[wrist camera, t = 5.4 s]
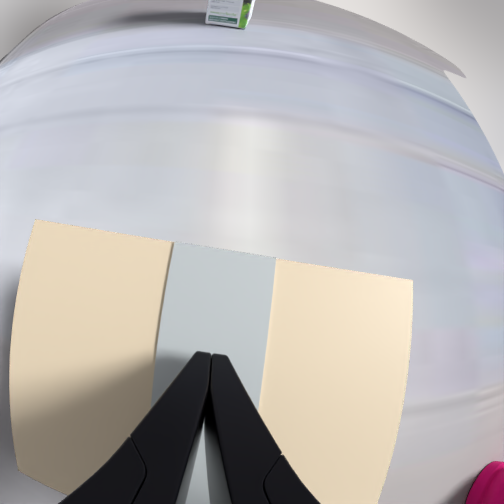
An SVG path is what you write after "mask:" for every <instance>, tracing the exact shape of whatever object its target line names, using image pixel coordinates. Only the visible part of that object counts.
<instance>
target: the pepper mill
mask: <svg viewBox="0 0 504 504" xmlns="http://www.w3.org/2000/svg"><path fill="white" fill-rule="evenodd" d="M466 504H504V462H499V461H494V462H491V463H490V464H488V465H487V466H486V467H485V468H484V469H483V470H482V472H481V473H480V474H479V476H478V477H477V479H476V480H475V482H474V484H473V485H472V487H471V489H470V492H469V494H468V497H467V500H466Z"/></svg>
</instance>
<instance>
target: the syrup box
mask: <svg viewBox="0 0 504 504" xmlns="http://www.w3.org/2000/svg"><path fill="white" fill-rule="evenodd" d="M254 2H255V0H208V7H207V13H206V20H205V23H206V24H216V25H223V26H230V27H237V28H241V29H245V28H246V26H247V24H248V22H249V20H250V18H251V16H252V11H253V6H254Z"/></svg>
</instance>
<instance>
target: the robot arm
mask: <svg viewBox="0 0 504 504" xmlns="http://www.w3.org/2000/svg"><path fill="white" fill-rule="evenodd" d="M203 424H204V440H205V454H206V467H207V479H208V490H209V500H210V504H321V503H320V502H319V501H318V500H317V499H316V498H315V497H314V496H313V494H312V493H311V492H310V491H309V490H308V488H307V487H306V486H305V485H304V484H303V482H302V481H301V480H300V478H299V477H298V475H297V474H296V473H295V471H294V470H293V468H292V467H291V465H290V464H289V462H288V461H287V459H286V457H285V456H284V455H283V454H282V451H281V450H280V448H279V446H278V445H277V443H276V441H275V440H274V438H273V436H272V435H271V433H270V431H269V430H268V428H267V426H266V425H265V423H264V421H263V419H262V418H261V416H260V414H259V412H258V411H257V409H256V407H255V405H254V404H253V402H252V400H251V398H250V396H249V395H248V393H247V391H246V389H245V387H244V386H243V384H242V382H241V380H240V378H239V376H238V374H237V372H236V371H235V369H234V367H233V365H232V363H231V361H230V359H229V357H228V356H227V355H224V354H217V353H213V354H212V356H211V353H209V352H203V351H196V352H195V353H194V354H193V356H192V357H191V358H190V359H189V361H188V362H187V363H186V365H185V366H184V367H183V368H182V370H181V371H180V372H179V374H178V375H177V376H176V377H175V379H174V380H173V381H172V382H171V384H170V385H169V386H168V387H167V389H166V390H165V391H164V393H163V394H162V395H161V396H160V398H159V399H158V400H157V401H156V403H155V404H154V405H153V406H152V408H151V409H150V410H149V411H148V413H147V414H146V415H145V416H144V418H143V419H142V420H141V421H140V423H139V424H138V425H137V426H136V428H135V429H134V430H133V431H132V433H131V434H130V437H127V439H126V440H125V441H124V442H123V443H122V445H121V446H120V447H119V448H118V449H117V451H116V452H115V453H114V454H113V455H112V456H111V457H110V458H109V460H108V461H107V462H106V463H105V464H104V465H102V466H101V467H100V468H99V469H98V470H97V471H96V472H95V473H94V474H93V475H92V476H91V477H90V478H88V479H87V480H86V481H85V482H84V483H83V484H81V485H80V486H79V487H78V488H77V489H75V490H74V491H73V492H72V493H71V494H69V495H68V496H67V497H66V498H65V499H63V500H62V501H61V502H60V503H58V504H185V503H186V499H187V495H188V490H189V486H190V482H191V477H192V473H193V469H194V464H195V460H196V456H197V451H198V447H199V443H200V439H201V434H202V429H203ZM281 454H282V455H281Z"/></svg>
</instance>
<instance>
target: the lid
mask: <svg viewBox="0 0 504 504" xmlns="http://www.w3.org/2000/svg"><path fill="white" fill-rule="evenodd" d="M412 313H413V280H408V279H402V278H395V277H389V276H383V275H376V274H370V273H364V272H357V271H351V270H345V269H338V268H332V267H326V266H319V265H313V264H307V263H301V262H294V261H288V260H282V259H276V258H275V257H269V256H263V255H256V254H250V253H244V252H238V251H232V250H225V249H219V248H213V247H207V246H201V245H194V244H188V243H182V242H176V241H175V242H170V241H164V240H158V239H152V238H146V237H140V236H134V235H127V234H121V233H115V232H109V231H103V230H97V229H91V228H85V227H79V226H73V225H67V224H61V223H55V222H49V221H43V220H37V219H35V222H34V225H33V229H32V232H31V235H30V239H29V243H28V246H27V250H26V254H25V258H24V262H23V266H22V271H21V275H20V280H19V285H18V291H17V297H16V303H15V309H14V317H13V325H12V335H11V347H10V368H9V393H10V414H11V426H12V435H13V443H14V450H15V456H16V461H17V467H18V471H20V472H22V473H23V474H25V475H27V476H29V477H31V478H32V479H34V480H36V481H38V482H40V483H42V484H44V485H46V486H48V487H50V488H52V489H55V490H57V491H59V492H61V493H63V494H66V495H69V494H71V493H72V492H73V491H74V490H75V489H77V488H78V487H79V486H80V485H81V484H83V483H84V482H85V481H86V480H87V479H88V478H90V477H91V476H92V475H93V474H94V473H95V472H96V471H97V470H98V469H99V468H100V467H101V466H102V465H104V464H105V463H106V462H107V461H108V460H109V458H110V457H111V456H112V455H113V454H114V453H115V452H116V451H117V449H118V448H119V447H120V446H121V445H122V443H123V442H124V441H125V440H126V439H127V437H130V434H131V433H132V431H133V430H134V429H135V428H136V426H137V425H138V424H139V423H140V421H141V420H142V419H143V418H144V416H145V415H146V414H147V413H148V411H149V410H150V409H151V408H152V406H153V405H154V404H155V403H156V401H157V400H158V399H159V398H160V396H161V395H162V394H163V393H164V391H165V390H166V389H167V387H168V386H169V385H170V384H171V382H172V381H173V380H174V379H175V377H176V376H177V375H178V374H179V372H180V371H181V370H182V368H183V367H184V366H185V365H186V363H187V362H188V361H189V359H190V358H191V357H192V356H193V354H194V353H195V352H196V351H203V352H209V353H211V356H212V354H213V353H217V354H224V355H227V356H228V357H229V359H230V361H231V363H232V365H233V367H234V369H235V371H236V372H237V374H238V376H239V378H240V380H241V382H242V384H243V386H244V387H245V389H246V391H247V393H248V395H249V396H250V398H251V400H252V402H253V404H254V405H255V407H256V409H257V411H258V412H259V414H260V416H261V418H262V419H263V421H264V423H265V425H266V426H267V428H268V430H269V431H270V433H271V435H272V436H273V438H274V440H275V441H276V443H277V445H278V446H279V448H280V450H281V451H282V454H283V455H284V456H285V457H286V459H287V461H288V462H289V464H290V465H291V467H292V468H293V470H294V471H295V473H296V474H297V475H298V477H299V478H300V480H301V481H302V482H303V484H304V485H305V486H306V487H307V488H308V490H309V491H310V492H311V493H312V494H313V496H314V497H315V498H316V499H317V500H318V501H319V502H320V503H321V504H377V502H378V500H379V497H380V494H381V491H382V488H383V485H384V482H385V479H386V475H387V472H388V469H389V465H390V461H391V458H392V454H393V450H394V446H395V442H396V438H397V433H398V429H399V424H400V419H401V414H402V408H403V403H404V396H405V390H406V383H407V375H408V367H409V358H410V347H411V333H412ZM282 454H281V455H282ZM185 504H210V500H209V490H208V479H207V467H206V454H205V440H204V424H203V429H202V434H201V439H200V443H199V447H198V451H197V456H196V460H195V464H194V469H193V473H192V477H191V482H190V486H189V490H188V495H187V499H186V503H185Z"/></svg>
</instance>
